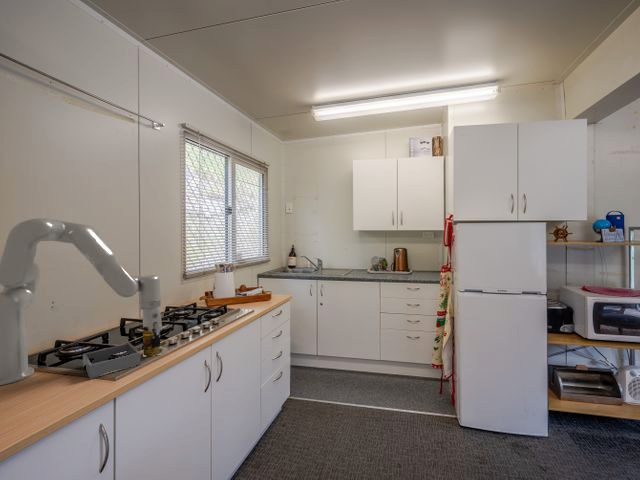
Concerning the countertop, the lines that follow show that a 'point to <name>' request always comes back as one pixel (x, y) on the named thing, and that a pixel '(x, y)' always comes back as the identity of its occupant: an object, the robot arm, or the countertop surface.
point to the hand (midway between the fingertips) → (152, 344)
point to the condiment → (149, 344)
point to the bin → (104, 365)
